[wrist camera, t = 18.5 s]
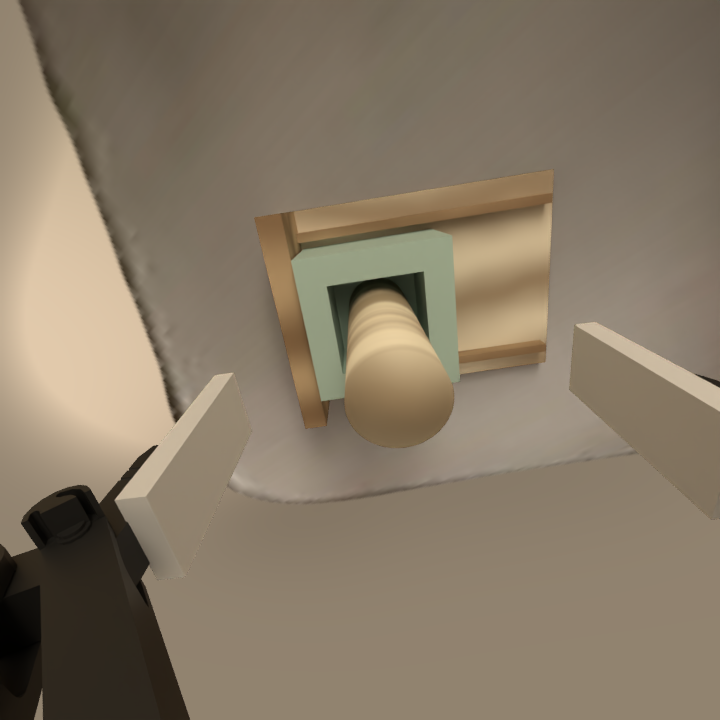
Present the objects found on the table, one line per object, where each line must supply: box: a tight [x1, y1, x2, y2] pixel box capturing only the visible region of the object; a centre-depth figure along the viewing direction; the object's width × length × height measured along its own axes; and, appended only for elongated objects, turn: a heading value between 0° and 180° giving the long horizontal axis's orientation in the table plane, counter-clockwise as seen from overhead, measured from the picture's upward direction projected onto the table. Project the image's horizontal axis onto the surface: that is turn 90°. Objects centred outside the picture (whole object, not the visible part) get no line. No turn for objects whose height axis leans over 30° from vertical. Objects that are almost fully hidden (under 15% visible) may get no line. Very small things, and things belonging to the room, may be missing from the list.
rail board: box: [254, 169, 554, 429], centre depth 26 cm, size 14×19×6 cm
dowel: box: [344, 278, 454, 448], centre depth 20 cm, size 4×4×14 cm
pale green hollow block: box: [291, 229, 460, 401], centre depth 25 cm, size 9×9×6 cm
